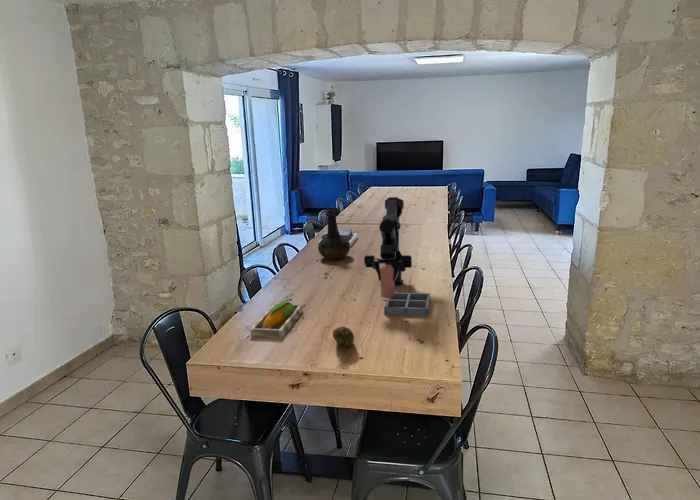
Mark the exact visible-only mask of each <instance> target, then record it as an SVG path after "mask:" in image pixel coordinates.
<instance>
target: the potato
mask: <svg viewBox="0 0 700 500" xmlns="http://www.w3.org/2000/svg"><path fill="white" fill-rule="evenodd" d="M332 337H333V339H334V341H335V343H336V344H337V345H338V347H344V348H347V347H350V346H351V345H352V344H353V343H354V342H355V335H354V332H353V331H352V329H350V328H348V327H347V326H338V327H336V328H335V329H333V331H332Z"/></svg>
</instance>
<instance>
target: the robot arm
mask: <svg viewBox="0 0 700 500" xmlns="http://www.w3.org/2000/svg"><path fill="white" fill-rule="evenodd" d="M404 207H405V202H404V200H403V199H401V198H400V197H397V196H395V197H394V196H390V197H386V199H384V209H385V210H386V212H385V214H386V215H384V216H383V217H382V220H381V221H380V224H379V231H380V236H381V238H382V241H381V245H380V250H379V251H380V252H379V253H380V254H379V255H380V258H378V257H375V255H374V254H371V255H367V254H365V256H364V259H363V262H364V266H365V268H372V269H373V270H375V271H376V272H375V273H377V276H378V281H379V282H381V279H380V269H381V266H380V264H384V265H385V264H389V265H391V266H392V267H393V269H394V286H395V285H396V286H401V285H403V282H404V279H402V272H405V271H406V270H407V269H409V268H412V267H413V260H412V256H411V255H404V254H402V252H401V250H400V229H401V227H402V225H401V223H400V218H401V216H402V215H403V210H404V209H405V208H404ZM406 268H407V269H406Z"/></svg>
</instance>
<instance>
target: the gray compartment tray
mask: <svg viewBox="0 0 700 500" xmlns="http://www.w3.org/2000/svg"><path fill="white" fill-rule="evenodd" d="M385 301H386V302H385V304H384V307H383V309H384V315H387V316H412V317H428V316H429V312H430V311H429V310H430V302H431V293H429V292H428V293H427V292H426V293H423V292H422V293H421V292H418V293H417V292H395V296H394V297H392V298H386V300H385Z"/></svg>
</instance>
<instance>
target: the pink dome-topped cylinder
mask: <svg viewBox="0 0 700 500" xmlns="http://www.w3.org/2000/svg"><path fill="white" fill-rule="evenodd" d="M380 279H381V280H380V296H381V298H384V299H387V298H392V297H394V296H395V293H396V292H395V285H394V269H393V267H392V266H391V265H389V264H385V263H384V264H383V265H382V266H380Z"/></svg>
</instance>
